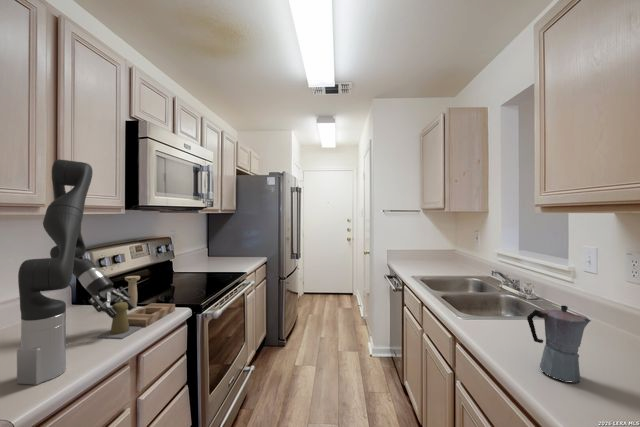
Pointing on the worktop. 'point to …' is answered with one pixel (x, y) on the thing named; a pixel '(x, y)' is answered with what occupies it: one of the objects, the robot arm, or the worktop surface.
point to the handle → (132, 288)
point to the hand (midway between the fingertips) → (123, 312)
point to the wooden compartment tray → (149, 314)
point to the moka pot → (560, 342)
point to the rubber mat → (119, 336)
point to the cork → (120, 319)
